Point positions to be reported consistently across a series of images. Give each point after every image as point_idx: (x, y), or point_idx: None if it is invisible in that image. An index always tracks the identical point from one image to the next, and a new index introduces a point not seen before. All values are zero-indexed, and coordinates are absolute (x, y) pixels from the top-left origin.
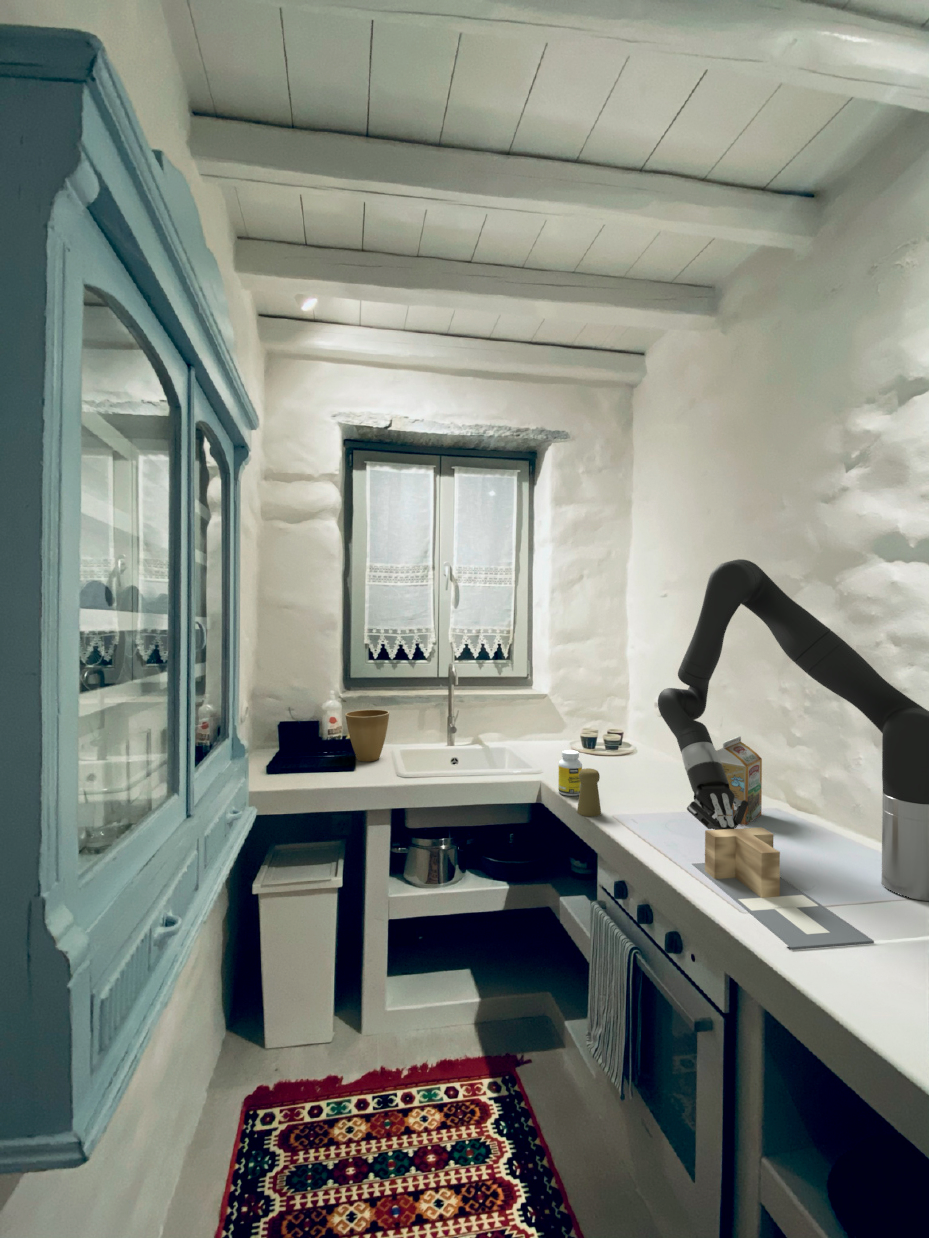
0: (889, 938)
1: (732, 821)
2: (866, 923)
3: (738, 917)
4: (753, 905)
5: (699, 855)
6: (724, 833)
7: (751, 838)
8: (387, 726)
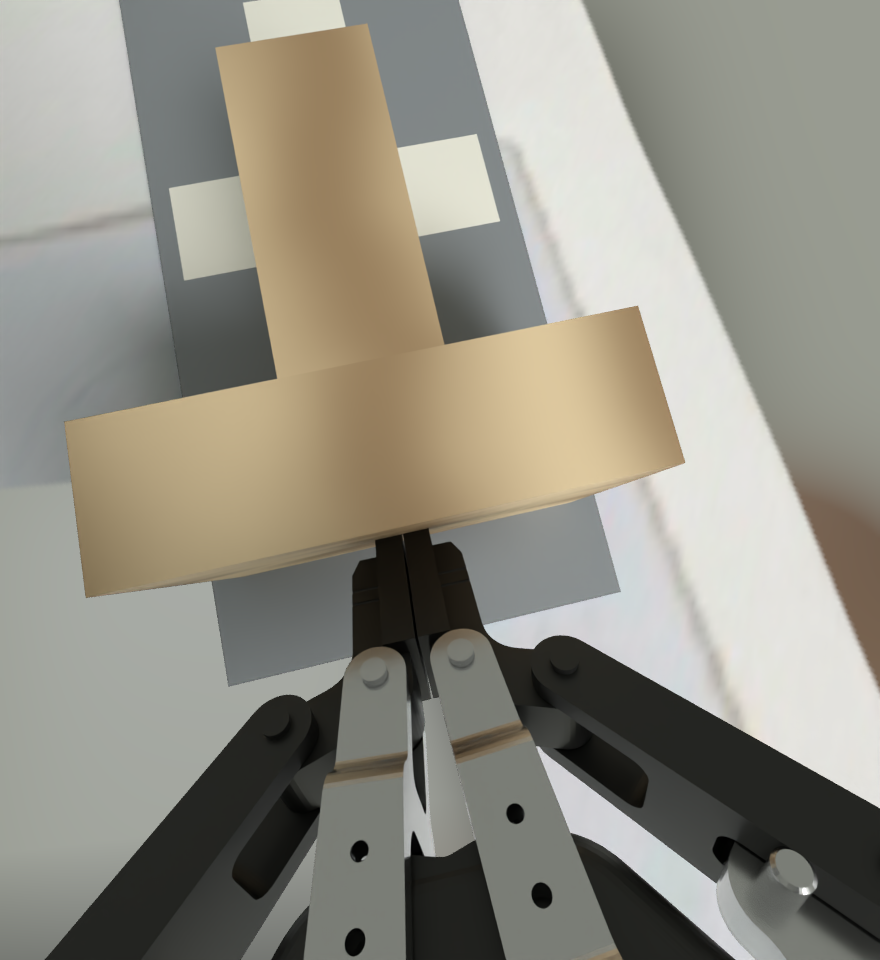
0: (37, 5)
1: (348, 708)
2: (50, 96)
3: (538, 110)
4: (452, 174)
5: (536, 747)
6: (526, 400)
7: (323, 302)
8: None
